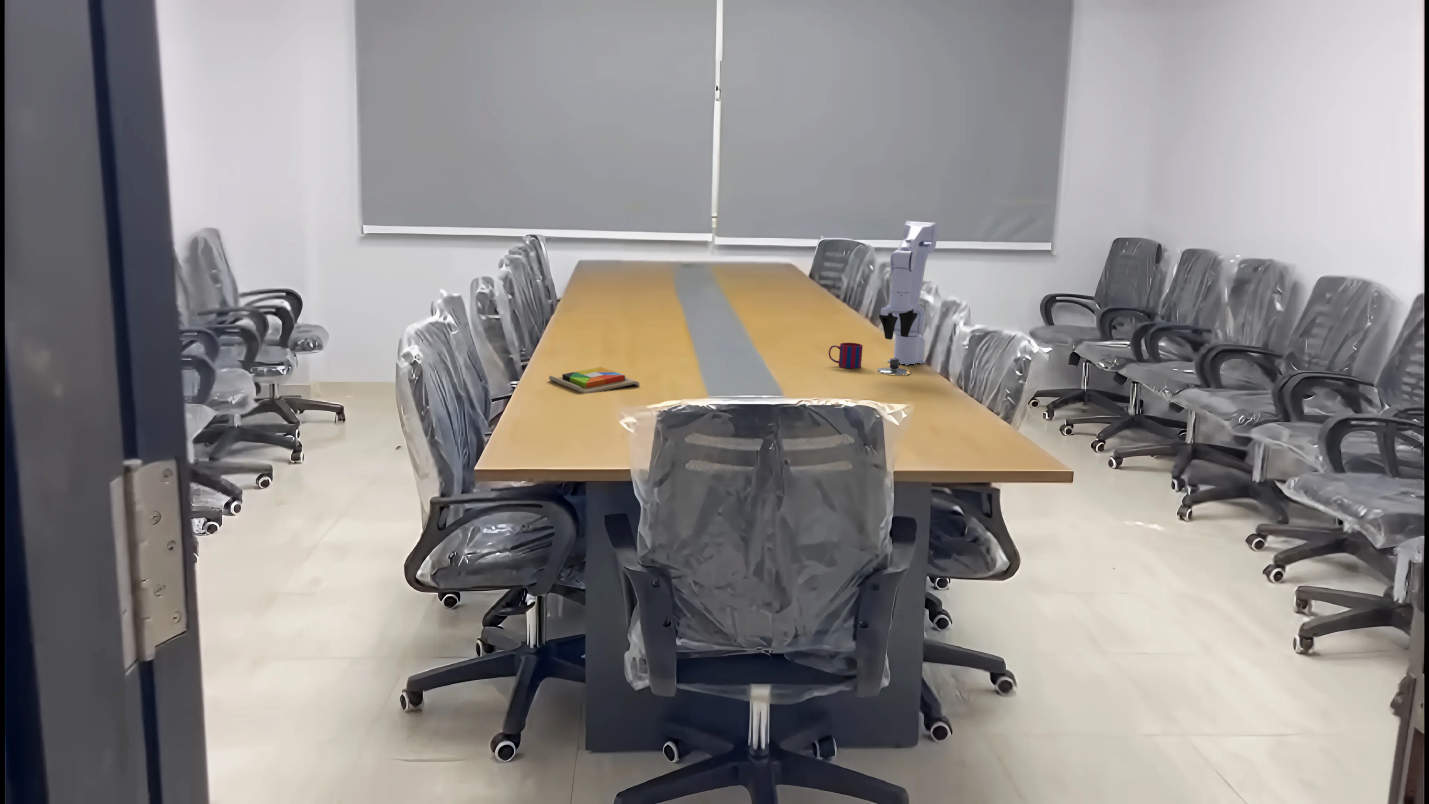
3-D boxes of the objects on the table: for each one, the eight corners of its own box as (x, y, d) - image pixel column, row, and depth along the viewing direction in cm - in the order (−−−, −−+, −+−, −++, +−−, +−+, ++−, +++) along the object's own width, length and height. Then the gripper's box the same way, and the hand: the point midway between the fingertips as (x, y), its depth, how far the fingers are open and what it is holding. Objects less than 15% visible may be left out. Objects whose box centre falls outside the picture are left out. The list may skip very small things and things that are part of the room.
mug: (861, 369, 324) (863, 347, 323) (827, 367, 325) (829, 345, 323) (860, 365, 331) (862, 343, 329) (827, 363, 331) (829, 341, 330)
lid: (890, 368, 329) (891, 354, 328) (917, 374, 322) (918, 360, 321) (869, 372, 322) (870, 357, 321) (896, 378, 315) (898, 363, 314)
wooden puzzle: (546, 382, 291) (547, 369, 290) (606, 376, 303) (607, 363, 302) (580, 395, 278) (580, 382, 277) (641, 388, 289) (641, 375, 288)
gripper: (904, 288, 324) (900, 333, 327) (873, 291, 314) (870, 337, 318) (923, 291, 319) (919, 337, 323) (893, 294, 310) (889, 341, 313)
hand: (896, 337), depth 320 cm, fingers open, 7 cm apart
